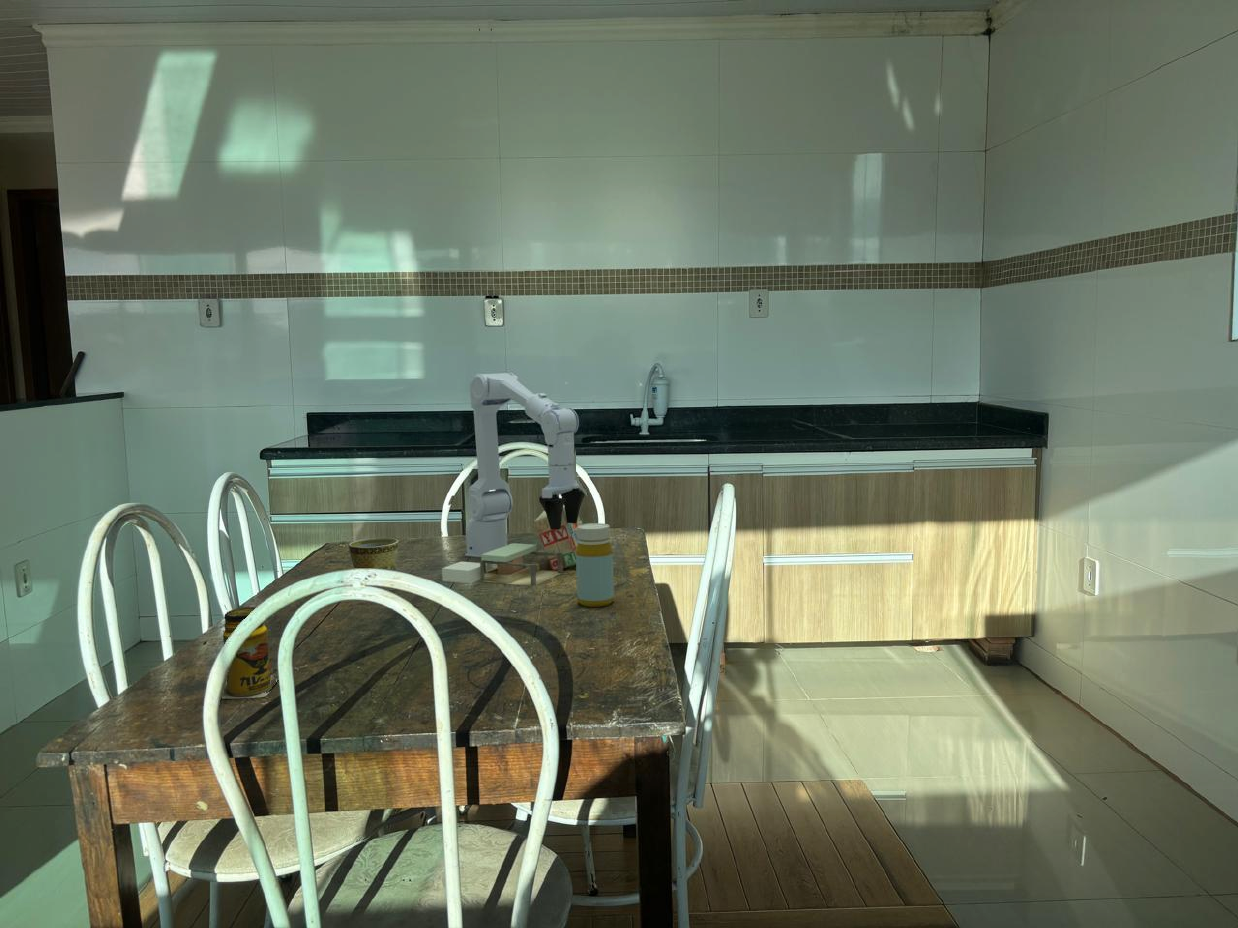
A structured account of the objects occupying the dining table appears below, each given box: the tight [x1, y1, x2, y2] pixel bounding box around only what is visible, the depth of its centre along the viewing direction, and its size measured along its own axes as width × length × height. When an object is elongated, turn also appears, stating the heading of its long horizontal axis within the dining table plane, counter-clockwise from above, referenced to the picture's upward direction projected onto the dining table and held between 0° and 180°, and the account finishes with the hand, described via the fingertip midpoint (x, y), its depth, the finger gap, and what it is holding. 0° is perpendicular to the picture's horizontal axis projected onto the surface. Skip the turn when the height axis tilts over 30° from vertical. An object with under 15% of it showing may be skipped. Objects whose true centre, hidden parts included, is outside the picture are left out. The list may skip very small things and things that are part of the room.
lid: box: [480, 542, 538, 562], centre depth 205 cm, size 6×13×1 cm, turn 154°
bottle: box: [575, 522, 615, 608], centre depth 181 cm, size 7×7×15 cm
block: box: [496, 555, 524, 575], centre depth 205 cm, size 4×4×4 cm
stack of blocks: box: [534, 505, 583, 572], centre depth 218 cm, size 21×6×12 cm, turn 175°
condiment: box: [221, 606, 278, 700], centre depth 138 cm, size 7×8×12 cm
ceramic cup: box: [348, 537, 399, 571], centre depth 198 cm, size 13×10×10 cm
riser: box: [441, 561, 489, 584], centre depth 204 cm, size 7×7×3 cm
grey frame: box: [479, 551, 565, 587], centre depth 204 cm, size 13×13×5 cm
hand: (563, 525), depth 206 cm, fingers open, 7 cm apart
